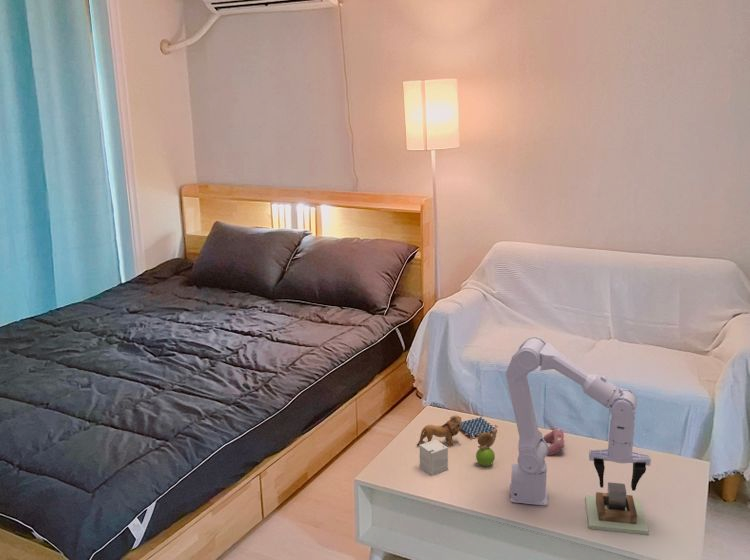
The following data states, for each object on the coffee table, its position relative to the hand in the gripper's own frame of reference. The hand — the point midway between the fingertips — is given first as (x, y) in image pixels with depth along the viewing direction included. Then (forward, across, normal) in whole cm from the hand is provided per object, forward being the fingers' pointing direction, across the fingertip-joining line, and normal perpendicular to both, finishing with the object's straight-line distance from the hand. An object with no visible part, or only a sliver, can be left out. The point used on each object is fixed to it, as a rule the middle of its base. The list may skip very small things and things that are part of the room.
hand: (617, 487), depth 179 cm
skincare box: (+9, +49, -15) cm, 52 cm away
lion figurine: (+9, +49, -30) cm, 58 cm away
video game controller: (+9, +14, -33) cm, 37 cm away
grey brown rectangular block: (+7, 0, 0) cm, 7 cm away
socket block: (+8, 0, 0) cm, 8 cm away
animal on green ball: (+9, +34, -20) cm, 40 cm away
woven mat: (+9, +39, -41) cm, 57 cm away
